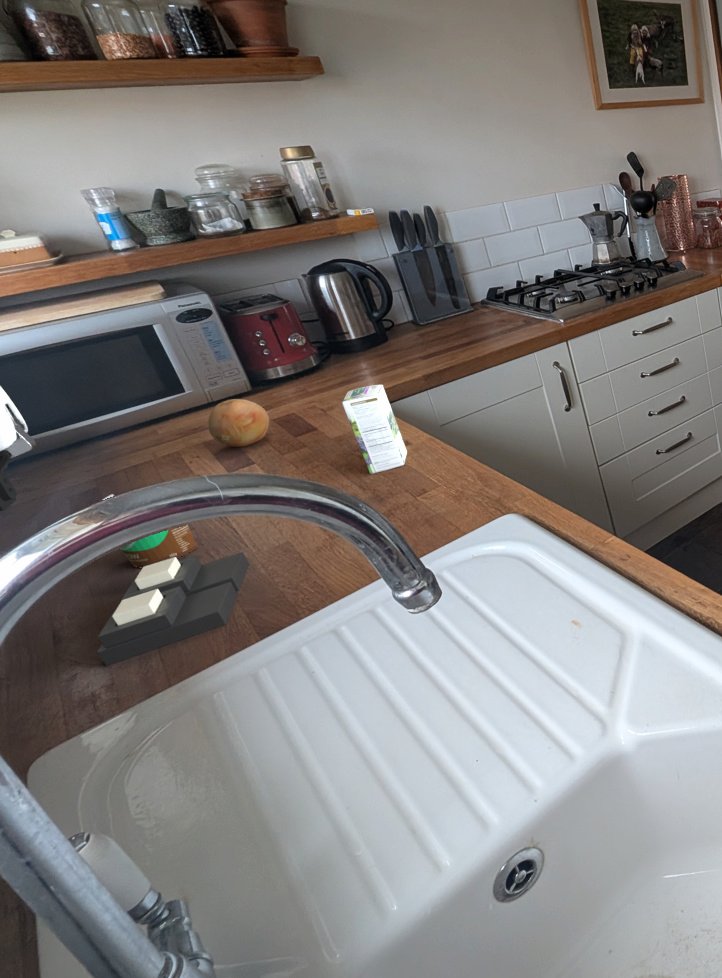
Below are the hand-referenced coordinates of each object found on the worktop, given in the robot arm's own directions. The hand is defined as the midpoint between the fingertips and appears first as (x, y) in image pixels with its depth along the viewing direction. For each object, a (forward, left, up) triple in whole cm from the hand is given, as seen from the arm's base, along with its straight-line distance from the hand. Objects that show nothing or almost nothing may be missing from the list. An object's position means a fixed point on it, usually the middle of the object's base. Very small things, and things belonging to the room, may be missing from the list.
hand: (1, 507), depth 79 cm
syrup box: (+34, +29, -20) cm, 49 cm away
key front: (+8, -5, -17) cm, 19 cm away
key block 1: (+10, +3, -20) cm, 23 cm away
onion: (+7, +62, -20) cm, 66 cm away
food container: (+2, +18, -20) cm, 27 cm away
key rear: (+8, +3, -17) cm, 18 cm away
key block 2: (+10, -5, -20) cm, 23 cm away
